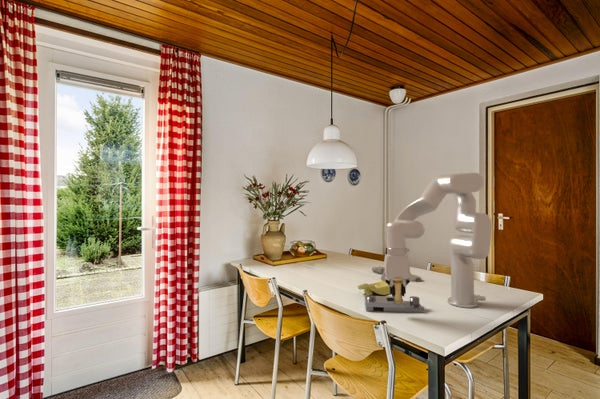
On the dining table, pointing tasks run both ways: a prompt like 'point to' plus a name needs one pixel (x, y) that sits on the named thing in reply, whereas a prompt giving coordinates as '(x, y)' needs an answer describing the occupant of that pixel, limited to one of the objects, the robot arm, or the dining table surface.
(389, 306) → the grey mechanical device
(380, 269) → the elongated rock
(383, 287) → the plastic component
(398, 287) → the brass pin
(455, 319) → the dining table surface
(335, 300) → the dining table surface
